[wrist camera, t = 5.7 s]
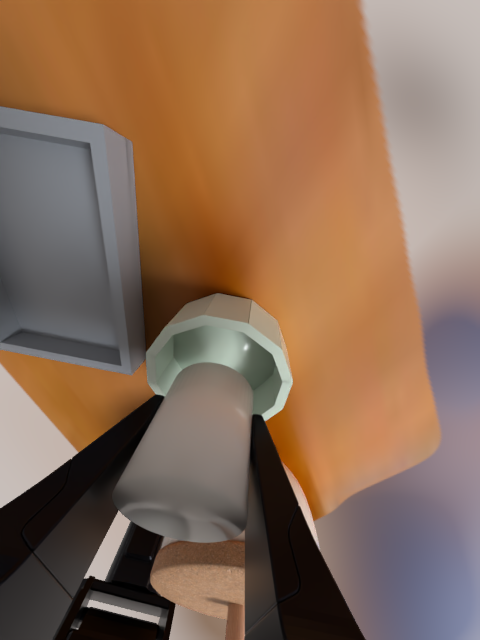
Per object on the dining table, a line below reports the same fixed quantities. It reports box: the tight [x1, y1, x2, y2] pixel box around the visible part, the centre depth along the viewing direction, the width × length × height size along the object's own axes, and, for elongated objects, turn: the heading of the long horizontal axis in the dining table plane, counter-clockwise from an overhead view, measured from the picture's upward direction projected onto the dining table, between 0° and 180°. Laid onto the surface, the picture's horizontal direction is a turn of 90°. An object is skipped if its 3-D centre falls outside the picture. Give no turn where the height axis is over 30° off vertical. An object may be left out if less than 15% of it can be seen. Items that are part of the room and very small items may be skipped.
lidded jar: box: [150, 461, 320, 640], centre depth 14 cm, size 11×11×9 cm
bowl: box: [146, 293, 293, 421], centre depth 12 cm, size 8×8×3 cm
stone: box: [112, 362, 253, 543], centre depth 8 cm, size 4×4×4 cm
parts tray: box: [0, 106, 146, 375], centre depth 11 cm, size 12×9×2 cm
